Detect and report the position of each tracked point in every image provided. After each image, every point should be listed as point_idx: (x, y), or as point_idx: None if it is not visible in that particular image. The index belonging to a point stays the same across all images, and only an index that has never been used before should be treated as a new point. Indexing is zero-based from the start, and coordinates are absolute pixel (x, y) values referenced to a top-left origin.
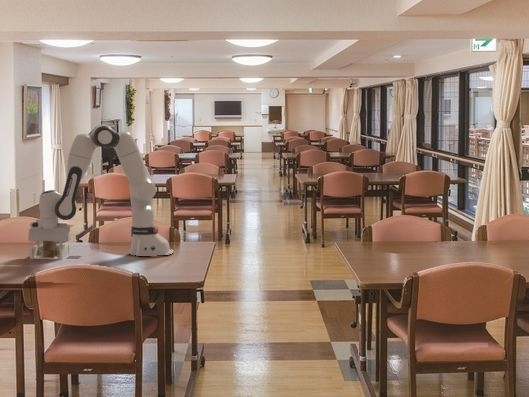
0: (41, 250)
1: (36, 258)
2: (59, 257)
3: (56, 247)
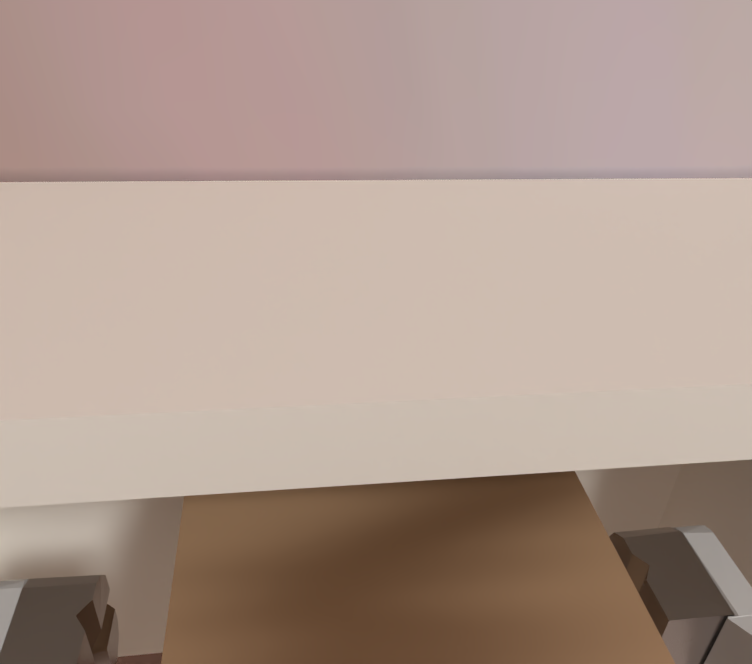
0: (108, 638)
1: (123, 642)
2: (598, 512)
3: (589, 503)
